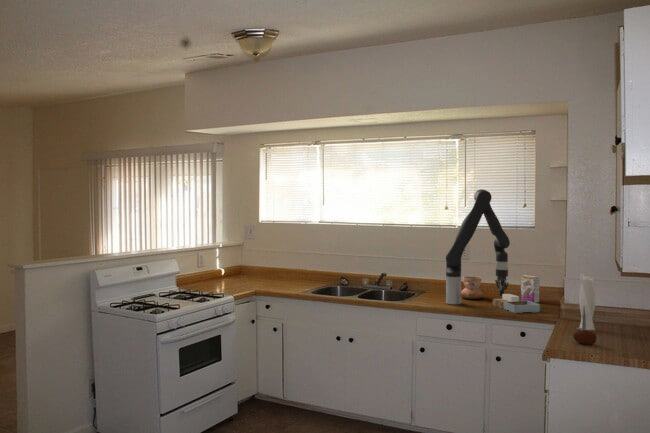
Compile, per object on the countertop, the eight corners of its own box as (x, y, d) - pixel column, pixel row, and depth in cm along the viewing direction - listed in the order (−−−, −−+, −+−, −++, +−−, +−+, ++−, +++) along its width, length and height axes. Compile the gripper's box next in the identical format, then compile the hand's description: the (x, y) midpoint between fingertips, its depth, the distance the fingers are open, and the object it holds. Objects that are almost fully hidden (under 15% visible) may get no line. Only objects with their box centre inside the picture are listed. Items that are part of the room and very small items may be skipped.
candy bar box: (520, 300, 363) (520, 275, 363) (525, 299, 365) (525, 274, 365) (534, 303, 353) (534, 277, 353) (539, 302, 356) (539, 276, 355)
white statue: (574, 327, 286) (574, 273, 285) (589, 327, 286) (589, 272, 286) (583, 331, 277) (583, 275, 277) (598, 331, 278) (599, 274, 277)
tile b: (507, 300, 341) (507, 295, 341) (514, 300, 342) (514, 295, 342) (511, 301, 337) (511, 296, 336) (518, 301, 338) (518, 296, 337)
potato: (592, 347, 247) (592, 332, 247) (570, 343, 253) (570, 329, 253) (598, 344, 252) (598, 330, 251) (577, 340, 258) (577, 326, 258)
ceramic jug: (476, 301, 361) (477, 279, 361) (455, 298, 371) (456, 277, 370) (487, 298, 375) (488, 276, 375) (467, 295, 385) (468, 274, 384)
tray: (503, 309, 335) (503, 301, 335) (527, 307, 338) (528, 300, 338) (515, 313, 322) (515, 305, 322) (540, 312, 325) (540, 304, 325)
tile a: (502, 298, 347) (502, 294, 347) (509, 298, 348) (509, 293, 348) (506, 300, 342) (506, 295, 342) (514, 299, 343) (514, 295, 343)
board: (492, 305, 348) (492, 298, 348) (516, 304, 351) (516, 297, 351) (503, 309, 335) (503, 302, 335) (527, 307, 338) (527, 301, 338)
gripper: (491, 267, 358) (491, 294, 358) (501, 270, 345) (501, 298, 345) (502, 267, 359) (502, 294, 360) (512, 269, 346) (512, 297, 347)
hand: (501, 296), depth 353 cm, fingers closed
